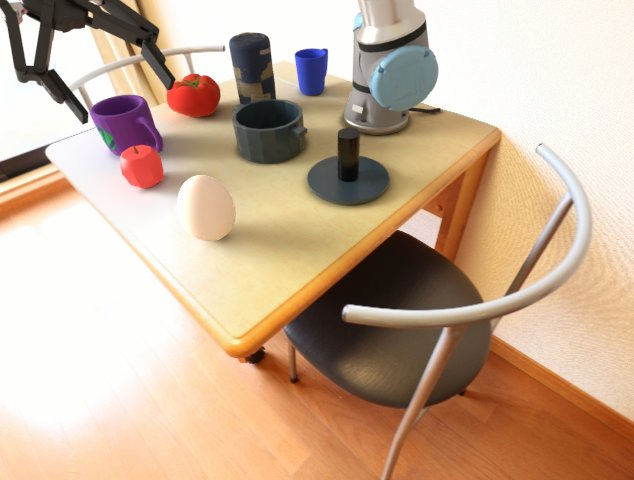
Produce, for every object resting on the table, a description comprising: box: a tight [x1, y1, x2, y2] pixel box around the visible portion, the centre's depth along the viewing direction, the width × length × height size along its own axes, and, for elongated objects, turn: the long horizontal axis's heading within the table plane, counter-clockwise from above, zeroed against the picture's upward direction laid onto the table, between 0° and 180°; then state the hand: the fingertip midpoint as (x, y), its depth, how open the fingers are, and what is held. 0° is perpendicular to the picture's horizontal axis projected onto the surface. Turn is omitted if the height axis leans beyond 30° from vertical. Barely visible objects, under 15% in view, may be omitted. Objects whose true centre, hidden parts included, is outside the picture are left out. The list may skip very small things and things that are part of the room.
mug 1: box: [89, 94, 164, 157], centre depth 79 cm, size 17×11×10 cm, turn 55°
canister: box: [228, 31, 277, 105], centre depth 89 cm, size 10×10×18 cm
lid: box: [306, 127, 390, 205], centre depth 67 cm, size 16×16×10 cm
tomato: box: [166, 73, 222, 119], centre depth 92 cm, size 14×13×9 cm
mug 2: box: [294, 47, 329, 96], centre depth 100 cm, size 8×12×10 cm
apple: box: [119, 145, 165, 189], centre depth 71 cm, size 8×8×8 cm
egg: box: [176, 174, 237, 242], centre depth 57 cm, size 9×9×11 cm
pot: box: [231, 98, 308, 165], centre depth 79 cm, size 15×20×8 cm
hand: (132, 100), depth 52 cm, fingers open, 13 cm apart
